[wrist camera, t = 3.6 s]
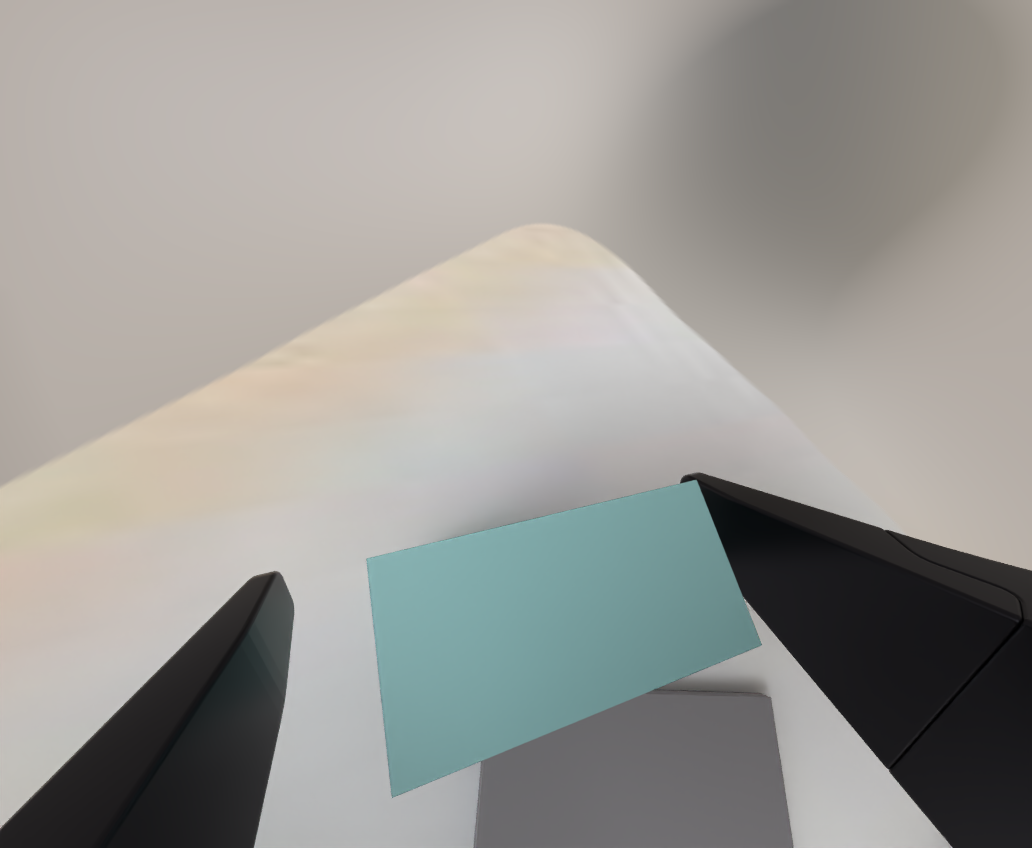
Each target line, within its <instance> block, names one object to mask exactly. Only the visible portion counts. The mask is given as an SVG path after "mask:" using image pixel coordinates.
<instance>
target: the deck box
mask: <svg viewBox="0 0 1032 848" xmlns="http://www.w3.org/2000/svg"><path fill="white" fill-rule="evenodd" d="M367 569H368V578H369V588H370V597H371V606H372V616H373V625H374V634H375V644H376V653H377V663H378V672H379V681H380V691H381V700H382V710H383V719H384V728H385V738H386V747H387V756H388V766H389V775H390V785H391V794H392V798H393V797H395V796H398V795H400V794H403V793H405V792H408V791H410V790H412V789H415V788H417V787H420V786H422V785H425V784H427V783H429V782H432V781H434V780H437V779H439V778H441V777H444V776H446V775H449V774H451V773H454V772H456V771H458V770H461V769H463V768H466V767H468V766H471V765H473V764H475V763H478V762H480V761H483V760H485V759H487V758H490V757H492V756H495V755H497V754H500V753H502V752H504V751H507V750H509V749H512V748H514V747H516V746H519V745H521V744H524V743H526V742H529V741H531V740H533V739H536V738H538V737H541V736H543V735H546V734H548V733H550V732H553V731H555V730H558V729H560V728H562V727H565V726H567V725H570V724H572V723H575V722H577V721H579V720H582V719H584V718H587V717H589V716H592V715H594V714H596V713H599V712H601V711H604V710H606V709H608V708H611V707H613V706H616V705H618V704H621V703H623V702H625V701H628V700H630V699H633V698H635V697H637V696H640V695H642V694H645V693H647V692H650V691H652V690H654V689H657V688H659V687H662V686H664V685H667V684H669V683H671V682H674V681H676V680H679V679H681V678H683V677H686V676H688V675H691V674H693V673H696V672H698V671H700V670H703V669H705V668H708V667H710V666H713V665H715V664H717V663H720V662H722V661H725V660H727V659H729V658H732V657H734V656H737V655H739V654H742V653H744V652H746V651H749V650H751V649H754V648H756V647H758V646H761V645H762V644H761V641H760V639H759V636H758V634H757V631H756V629H755V626H754V624H753V621H752V619H751V616H750V614H749V611H748V609H747V606H746V604H745V601H744V598H743V596H742V593H741V591H740V588H739V586H738V583H737V581H736V578H735V576H734V573H733V571H732V568H731V566H730V563H729V561H728V558H727V556H726V553H725V550H724V548H723V545H722V543H721V540H720V538H719V535H718V533H717V530H716V528H715V525H714V523H713V520H712V518H711V515H710V513H709V510H708V507H707V505H706V502H705V500H704V497H703V495H702V492H701V490H700V487H699V485H698V482H697V480H693V481H689V482H685V483H681V484H677V485H672V486H668V487H664V488H660V489H656V490H651V491H647V492H643V493H639V494H635V495H631V496H626V497H622V498H618V499H614V500H610V501H606V502H601V503H597V504H593V505H589V506H585V507H580V508H576V509H572V510H568V511H564V512H560V513H555V514H551V515H547V516H543V517H539V518H535V519H530V520H526V521H522V522H518V523H514V524H509V525H505V526H501V527H497V528H493V529H489V530H484V531H480V532H476V533H472V534H468V535H464V536H459V537H455V538H451V539H447V540H443V541H438V542H434V543H430V544H426V545H422V546H418V547H413V548H409V549H405V550H401V551H397V552H393V553H388V554H384V555H380V556H376V557H372V558H367Z"/></svg>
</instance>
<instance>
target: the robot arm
mask: <svg viewBox="0 0 1032 848" xmlns="http://www.w3.org/2000/svg"><path fill="white" fill-rule="evenodd" d="M693 480H697V482H698V485H699V487H700V490H701V492H702V495H703V497H704V500H705V502H706V505H707V507H708V510H709V513H710V515H711V518H712V520H713V523H714V525H715V528H716V530H717V533H718V535H719V538H720V540H721V543H722V545H723V548H724V550H725V553H726V556H727V558H728V561H729V563H730V566H731V568H732V571H733V573H734V576H735V578H736V581H737V583H738V586H739V588H740V591H741V593H742V596H743V597H744V598H745V600H746V601H747V602H748V603H749V604H750V606H751V607H752V608H753V609H754V610H755V611H756V613H757V614H758V615H759V616H760V617H761V619H762V620H763V621H764V622H765V623H766V625H767V626H768V627H769V628H770V629H771V631H772V632H773V633H774V634H775V635H776V637H777V638H778V639H779V640H780V641H781V643H782V644H783V645H784V646H785V647H786V649H787V650H788V651H789V652H790V653H791V654H792V656H793V657H794V658H795V659H796V660H797V662H798V663H799V664H800V665H801V666H802V668H803V669H804V670H805V671H806V672H807V674H808V675H809V676H810V677H811V678H812V680H813V681H814V682H815V683H816V684H817V686H818V687H819V688H820V689H821V690H822V692H823V693H824V694H825V695H826V696H827V697H828V699H829V700H830V701H831V702H832V703H833V705H834V706H835V707H836V708H837V709H838V711H839V712H840V713H841V714H842V715H843V717H844V718H845V719H846V720H847V721H848V723H849V724H850V725H851V726H852V727H853V729H854V730H855V731H856V732H857V733H858V735H859V736H860V737H861V738H862V739H863V740H864V742H865V743H866V744H867V745H868V746H869V748H870V749H871V750H872V751H873V752H874V754H875V755H876V756H877V757H878V758H879V760H880V761H881V762H882V763H883V764H884V766H885V767H886V768H887V769H889V772H890V773H891V774H892V776H893V777H894V778H895V779H896V780H897V782H898V783H899V784H900V785H901V786H902V788H903V789H904V790H905V791H906V792H907V794H908V795H909V796H910V797H911V798H912V800H913V801H914V802H915V803H916V804H917V806H918V807H919V808H920V809H921V810H922V812H923V813H924V814H925V815H926V816H927V818H928V819H929V820H930V821H931V822H932V824H933V825H934V826H935V827H936V828H937V829H938V831H939V832H940V833H941V834H942V835H943V837H944V838H945V839H946V840H947V841H948V843H949V844H950V845H951V846H952V847H953V848H1032V571H1030V570H1027V569H1023V568H1019V567H1015V566H1012V565H1008V564H1004V563H1001V562H996V561H993V560H989V559H985V558H982V557H978V556H974V555H971V554H968V553H964V552H960V551H957V550H953V549H950V548H946V547H942V546H939V545H936V544H932V543H929V542H926V541H922V540H919V539H915V538H912V537H909V536H906V535H902V534H899V533H896V532H893V531H889V530H883V529H882V528H879V527H876V526H873V525H869V524H866V523H863V522H860V521H856V520H853V519H850V518H847V517H843V516H840V515H837V514H834V513H830V512H827V511H824V510H820V509H817V508H814V507H811V506H807V505H804V504H801V503H798V502H794V501H791V500H788V499H785V498H781V497H778V496H775V495H772V494H768V493H765V492H762V491H758V490H755V489H752V488H749V487H745V486H742V485H739V484H736V483H732V482H729V481H726V480H723V479H719V478H716V477H713V476H709V475H706V474H703V473H692V474H688V475H685V476H683V478H682V479H681V482H680V484H681V483H685V482H689V481H693ZM293 620H294V603H293V600H292V597H291V595H290V593H289V590H288V588H287V586H286V583H285V581H284V579H283V576H282V575H281V574H280V573H279V572H277V571H273V572H269V573H265V574H261V575H256V576H254V577H252V578H251V579H249V580H248V581H247V582H246V583H245V584H244V585H243V586H242V587H241V588H240V589H239V590H238V591H237V592H236V593H235V594H234V595H233V596H232V597H231V598H230V599H229V600H228V601H227V602H226V603H225V604H224V605H223V606H222V607H221V608H220V609H219V610H218V611H217V612H216V613H215V614H214V615H213V616H212V617H211V618H210V619H209V620H208V621H207V622H206V623H205V624H204V625H203V626H202V627H201V628H200V629H199V630H198V631H197V632H196V633H195V634H194V635H193V636H192V637H191V638H190V639H189V640H188V641H187V642H186V643H185V644H184V645H183V646H182V647H181V648H180V649H179V650H178V651H177V652H176V653H175V654H174V655H173V656H172V657H171V658H170V659H169V660H168V661H167V662H166V663H165V664H164V665H163V666H162V667H161V668H160V669H159V670H158V671H157V672H156V673H155V674H154V675H153V676H152V677H151V678H150V679H149V680H148V681H147V682H146V683H145V684H144V685H143V686H142V687H141V688H140V689H139V690H138V691H137V692H136V693H135V694H134V695H133V696H132V697H131V698H130V699H129V700H128V701H127V702H126V703H125V704H124V705H123V706H122V707H121V708H120V709H119V710H118V711H117V712H116V713H115V714H114V715H113V716H112V717H111V718H110V719H109V720H108V721H107V722H106V723H105V724H104V725H103V726H102V727H101V728H100V729H99V730H98V731H97V732H96V733H95V734H94V735H93V736H92V737H91V738H90V739H89V740H88V741H87V742H86V743H85V744H84V745H83V746H82V747H81V748H80V749H79V750H78V751H77V752H76V753H75V754H74V755H73V756H72V757H71V758H70V759H69V760H68V761H67V762H66V763H65V764H64V765H63V766H62V767H61V768H60V769H59V770H58V771H57V772H56V773H55V774H54V775H53V776H52V777H51V778H50V779H49V780H48V781H47V782H46V783H45V784H44V785H43V786H42V787H41V788H40V789H39V790H38V791H37V792H36V793H35V794H34V795H33V796H32V797H31V798H30V799H29V800H28V801H27V802H26V803H25V804H24V805H23V806H22V807H21V808H20V809H19V810H18V811H17V812H16V813H15V814H14V815H13V816H12V817H11V818H10V819H9V820H8V821H7V822H6V823H5V824H4V825H3V826H2V827H1V828H0V848H254V844H255V840H256V835H257V830H258V826H259V821H260V816H261V812H262V807H263V802H264V798H265V793H266V788H267V784H268V779H269V774H270V770H271V765H272V760H273V756H274V751H275V746H276V742H277V737H278V732H279V728H280V723H281V718H282V713H283V708H284V702H285V695H286V687H287V678H288V668H289V659H290V649H291V639H292V629H293Z"/></svg>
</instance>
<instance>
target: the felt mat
mask: <svg viewBox="0 0 1032 848" xmlns="http://www.w3.org/2000/svg"><path fill="white" fill-rule="evenodd" d="M474 848H793V841H792V834H791V828H790V821H789V815H788V808H787V801H786V795H785V788H784V782H783V775H782V768H781V762H780V755H779V749H778V742H777V736H776V729H775V722H774V716H773V709H772V703H771V697H768V696H766V695H763V694H761V693H735V692H703V691H670V690H652V691H650V692H647V693H645V694H642V695H640V696H637V697H635V698H633V699H630V700H628V701H625V702H623V703H621V704H618V705H616V706H613V707H611V708H608V709H606V710H604V711H601V712H599V713H596V714H594V715H592V716H589V717H587V718H584V719H582V720H579V721H577V722H575V723H572V724H570V725H567V726H565V727H562V728H560V729H558V730H555V731H553V732H550V733H548V734H546V735H543V736H541V737H538V738H536V739H533V740H531V741H529V742H526V743H524V744H521V745H519V746H516V747H514V748H512V749H509V750H507V751H504V752H502V753H500V754H497V755H495V756H492V757H490V758H487V759H485V760H483V761H481V772H480V783H479V794H478V806H477V817H476V828H475V839H474Z"/></svg>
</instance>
